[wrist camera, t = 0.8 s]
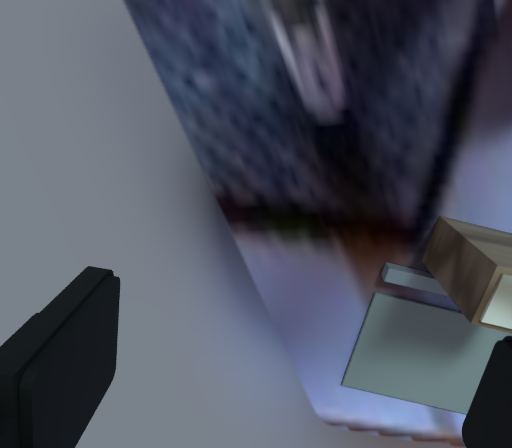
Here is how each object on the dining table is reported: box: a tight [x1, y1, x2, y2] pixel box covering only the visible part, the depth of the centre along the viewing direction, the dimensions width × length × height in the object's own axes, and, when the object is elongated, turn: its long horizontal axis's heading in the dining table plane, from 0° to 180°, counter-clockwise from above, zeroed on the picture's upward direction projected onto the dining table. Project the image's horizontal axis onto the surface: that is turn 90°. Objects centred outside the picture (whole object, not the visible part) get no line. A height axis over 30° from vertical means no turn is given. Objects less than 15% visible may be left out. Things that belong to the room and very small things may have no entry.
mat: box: [342, 292, 512, 414], centre depth 47 cm, size 12×16×1 cm
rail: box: [381, 262, 449, 297], centre depth 44 cm, size 2×16×2 cm, turn 77°
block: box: [422, 216, 512, 334], centre depth 37 cm, size 5×9×12 cm, turn 77°
